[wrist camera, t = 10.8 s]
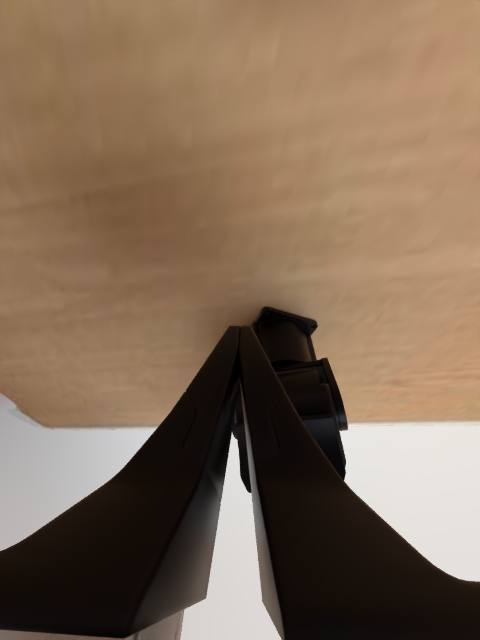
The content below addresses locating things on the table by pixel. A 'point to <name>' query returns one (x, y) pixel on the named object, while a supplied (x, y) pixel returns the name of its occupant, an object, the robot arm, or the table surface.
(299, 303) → the table surface
